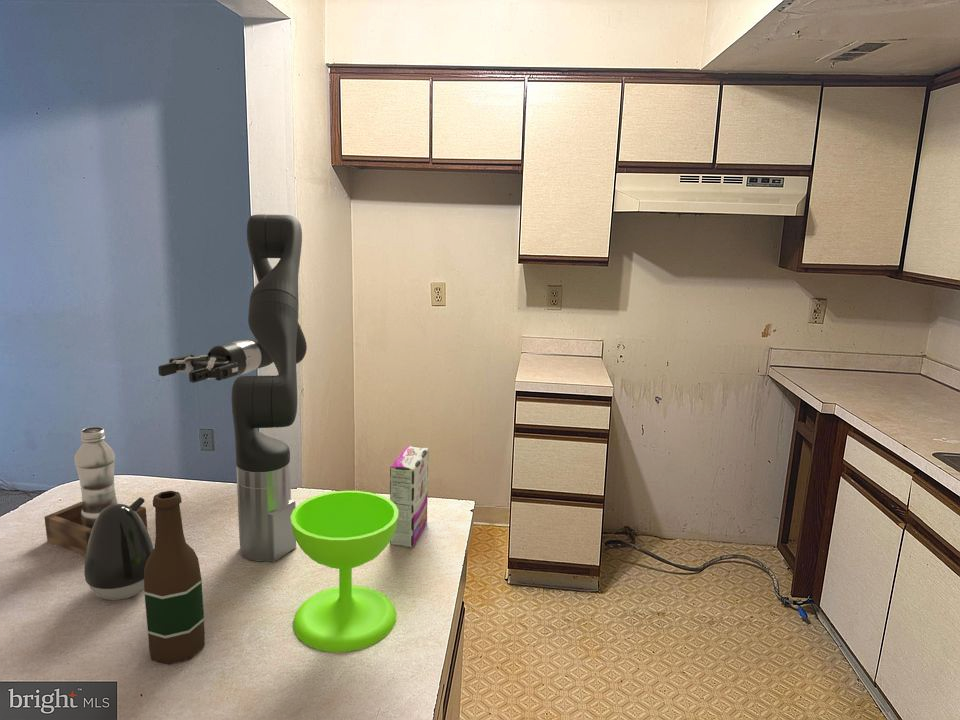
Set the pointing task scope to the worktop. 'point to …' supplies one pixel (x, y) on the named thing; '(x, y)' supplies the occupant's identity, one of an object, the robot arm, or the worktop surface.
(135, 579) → the black egg-shaped dispenser
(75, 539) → the u rest
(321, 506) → the wineglass
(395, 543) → the candy bar box
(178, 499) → the beer bottle
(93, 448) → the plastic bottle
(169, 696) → the worktop surface
